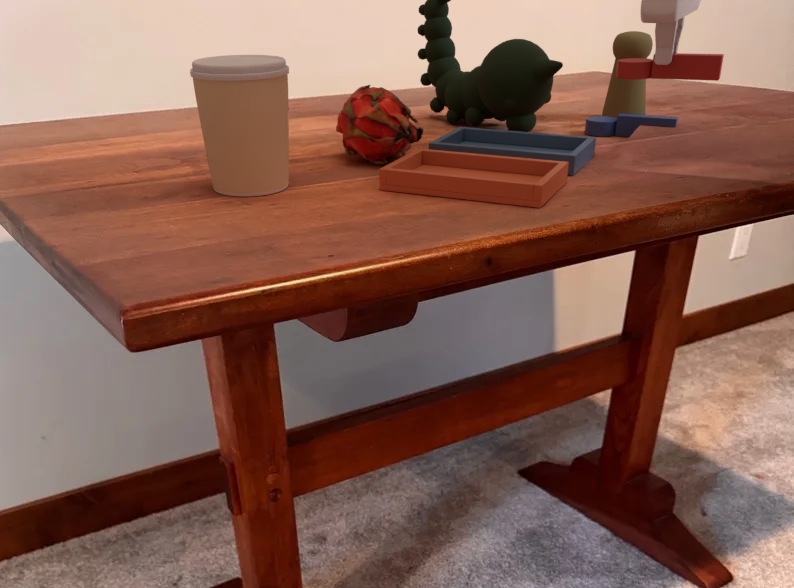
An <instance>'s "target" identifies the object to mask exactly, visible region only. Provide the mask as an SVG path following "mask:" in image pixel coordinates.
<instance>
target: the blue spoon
mask: <svg viewBox="0 0 794 588" xmlns="http://www.w3.org/2000/svg"><path fill="white" fill-rule="evenodd" d="M678 122H679V117H678V116H668V115H667V116H666V115H652V114H645V115H637V114H622V113H620V114H619V115H618V116H617V119H616V118H613V117H606V116H602V115H595V116H588V117H586V118H585V125H584V134H585V135H587V136H590V137H599V138H601V137H603V138H604V137H614V136H615V137H624V136H626V138H629V137H631V136H632V135H633V134H634V133H635V131H637V130H638V129H639V127H640V126H649V127H651V126H652V127H666V128H676V127H677V126H678ZM627 136H628V137H627Z"/></svg>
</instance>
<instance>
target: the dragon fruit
mask: <svg viewBox="0 0 794 588" xmlns="http://www.w3.org/2000/svg"><path fill="white" fill-rule="evenodd" d="M410 119H411V121H412V122H414V123H416V124H419V121H418V120H417V119H416V118H414V116H412V110H411V109H410V107H408V105H406V103H404V102H403V101H401V100H400V98H399V97H398V96H397V95H396V94H394V93H393V92H392V91H390V90H388V89H387V88H384V87H382V86H381V87H375V86H372V87H371V84H367V85H363V86H360V87H358V88H357V89H356V90H355V91H354V92H353V93H351V95H350V96H349V97H348V98H347V100H346V101H345V102H344V104H343V107H342V109H341V110H340V112H339V113H338V115H337V123H336V126H335V132H337V133H340V134H342V140H341V141H342V146H343V148H344V151H345V154H346V155H347V156H348V157H352V156H356V155H358V154H360V156H362V157H363V158H364V159H365V160H367V161H369V162H370V164H373V165H378V166H381V165H388V164H390V163H391V162H389V161H388V160H386V158H396V157H397V156H399V155H400V154H401V155H402V156H405V155H406V154H407V152H408V151H409V150H411V146H412V145H413V144H416V143H418V142H420V141H421V140H422V138H423V134H424V128H423V127H419V128H418V127H416V126H414V125H413V124H412V123H411V122H410Z"/></svg>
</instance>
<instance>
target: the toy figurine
mask: <svg viewBox="0 0 794 588" xmlns="http://www.w3.org/2000/svg"><path fill="white" fill-rule="evenodd" d="M451 1H452V0H426V1H425V2H424V3H423V4H421V5H419V7H418V13H419V14H420V15H421V16H424V17H423V18H424V19H425V21H424V23H421V24H420V25H418V27H417V35H420V36H421V37H424V38H425V40H426V41H427V42H426V43H425V47H423V48H420V49H419V50H418V51H417V57H418V59H419V60H426V61H427V63H428V65H427V69H426V72H424V73H422V74H421V76H420V79H419V81H420V83H421V85H422V86H424V87H429V86H432V87H434V88H435V90H434V91H435V96H434V97H433V98H432V100H430V101H429V107H430V111H432V112H434V113H435V114H440V113H442V111H443V110H444V109H445V108H447V111H446V114H445V119H446V121H447V122H448V123H449V124H450V125H456V124H458V123H460V121H461V120H463V121H466V123H467V124H468V125H470V126H473V127H477V126H480V125H481V124H482V123H483V122H484V121H485V120H492V119H494V120H496V121H498V122H505V126H506V128H507V130H508V131H521V132H532V131H533V129H534V128H535V126H536V125H537V120H538V119H537V116H536V112H538V111H539V110H540V109H541V108H542V107H543V106H544V105H547V104H548V103H549V102H550V101H551V100H552V94H551V93H552V90H553V85H554V76H555V75H556V74H557V73H558V72H559V71H560V70H561V69H562V68H563V67H564V64H563V62H562V61H558V60H555V59H550V58H549V56H548V54H547V53H546V52H545V50H544V49H543V48H542V47H540V46H539V45H538V44H537V43H534V42H533V41H531V40H527V39H524V38H512V39H511V38H510V39H508V40H505V41H503V42H500V43H499V44H497V45H496V46H494V47H493V48H491V49H490V51H489V52H488V53H487V54H486V55H485V57H484V58H483V60H482V62H481V64H480V65H478V66H475V67H474V68H473V69H472V70H470V71H463V70H462V68H461V65H460V62H459V61H458V59H457V58H456V46H455V42H454V41H453V39H452V38H451V36H452V33H453V32H452V31H453V25H452V21H451V20H450V18H449V17H448V15H449V13H450V12H449V9H450V8H449V4H448V3H449V2H451Z"/></svg>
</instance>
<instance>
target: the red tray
mask: <svg viewBox="0 0 794 588" xmlns="http://www.w3.org/2000/svg"><path fill="white" fill-rule="evenodd" d="M389 163H390V164H385V165H384V166H382V167H380V168H379V169H378V170H379V171H378V172H379V173H378V174H379V175H378V177H379V178H378V180H379V182H378V183H379V190H380V191H386V192H396V193H404V194H413V195H421V196H430V197H438V198H440V197H441V198H446V199H447V198H448V199H456V200H465V201H474V202H475V201H476V202H484V203H491V204H492V203H493V204H501V205H511V206H517V207H518V206H519V207H526V208H527V207H528V208H537V209H541V208H542V207H543V206H544V205H545V204H546V203H547V202H548V201H549V200H550V199H551V198H552V197H553V196H554V195H555V194H556V193H557V192H559V191H560V190H561V188H562V187H563V186H565V185H566V184H567V182H568V175H567V174H568V165H569V162H564V161H553V160H542V159H531V158H519V157H508V156H497V155H486V154H475V153H464V152H453V151H442V150H431V149H429V148H416V149H415V150H413V151H411V152H409V153H406V154H405V155H402V156H401V157H399V158H398V159H396V160H393V161H392V162H389Z"/></svg>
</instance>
